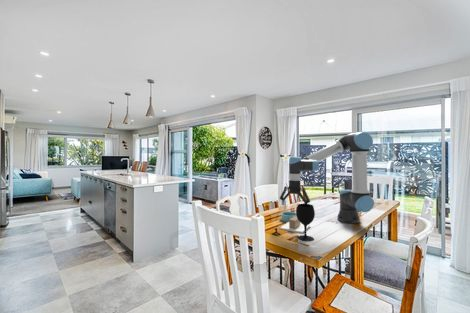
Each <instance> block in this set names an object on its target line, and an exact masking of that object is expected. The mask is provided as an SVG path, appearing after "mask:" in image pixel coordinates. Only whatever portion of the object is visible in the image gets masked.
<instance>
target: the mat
mask: <svg viewBox="0 0 470 313" xmlns="http://www.w3.org/2000/svg"><path fill="white" fill-rule="evenodd" d="M311 228H312V226H310V227H309V228H308V229H307V230H306V233H307V232H308V231H309V230H310V229H311ZM278 230H281V231H283V230H282V229H280V227H279V228H278ZM285 231H286V232H289V231H288V230H285ZM290 232H293V231H290ZM293 233H294V232H293ZM295 233H297V234H299V233H298V232H295ZM301 234H302V235H304V234H305V232H303V233H300V235H301Z"/></svg>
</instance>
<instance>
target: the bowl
mask: <svg viewBox="0 0 470 313" xmlns="http://www.w3.org/2000/svg"><path fill="white" fill-rule="evenodd" d="M294 216H297V215H296V212H294V211H283V212H281V213H280V220H281V221H282V222H285V223H287V222H289V220H290V219H291V218H293V217H294Z"/></svg>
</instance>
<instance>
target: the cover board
mask: <svg viewBox="0 0 470 313" xmlns="http://www.w3.org/2000/svg"><path fill="white" fill-rule="evenodd" d="M309 227H311V226H310V224H309V225H307V228H306V230H307V229H308V228H309ZM279 228H280V229H279V230H281V229H282V230H281V231H286V230H288V231H287V232H291V231H293V233H296V232H298V233H297V234H301V233H303V232H305V229H304V225H303V224H302V223H301V222H300V221H299V220H298V218H297V216H294V217H293V218H291V219H290V220H289V222H285V224H283V225H282V226H280V227H279Z"/></svg>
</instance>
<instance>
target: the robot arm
mask: <svg viewBox="0 0 470 313" xmlns="http://www.w3.org/2000/svg"><path fill="white" fill-rule="evenodd" d="M373 144H374V138H373V136H371V134H370V133H369V132H366V131H357V132H353V133H351V132H350V133H348V134H345V135H344V136H342V137H339V138H338V139H336V140H335V141H334V142H333V143H331V144H329V145H327V146H325V147H323V148H321V149H319V150H317V151H315V152H312V153H311V154H309V155H307V156H305V157H303V158H301V157H300V156H290V157H289V158H288V159H289V160H288V186H287V185H285V186H284V188H283V191H282V192H281V194H280V197H279V200H280V201H281V203H282V206H283V211H286V210H287V200H286V199H287V198H288V197H289V196H291V194H292V195H294V194H295V195H298V196H299V197H300V199H301V200H302V202H303V203H302V204H310V203H311V199H310V198H309V195H308V193H307V192H306V191H307V190H306V187H301V176H302V175H301V174H302V173H301V172H317V171H318V170H319V169H320V168H319V167H320V165H319V164H320V162H322V161H324V160H325V159H328V158H330V157H331V156H334V155H336V154H338V153H343V152H345V151H349V153H350V154H351V155H352V189H341V190H339V211H338V214H337V216H336V218H337V221H338V222H342V223H345V224H346V223H347V224H359V223H360V222H361V218H360V215H359V212H360V213H368V212H370V211H371V210H373V208H374V206H375V200H374V199H373V198H372V196H371V192H370V190H368V161H367V160H368V157H367V156H368V153H369V152H370V148H371V147H372V146H373ZM287 190H288V192H287ZM286 192H287V193H286Z"/></svg>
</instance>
